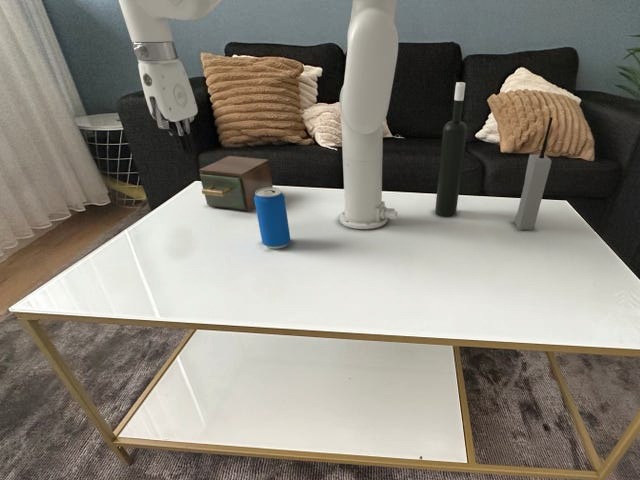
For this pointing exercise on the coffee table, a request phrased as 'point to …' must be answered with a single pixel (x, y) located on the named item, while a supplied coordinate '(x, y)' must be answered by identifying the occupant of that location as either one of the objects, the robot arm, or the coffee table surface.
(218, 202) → the drawer
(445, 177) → the wine bottle
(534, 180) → the vintage mobile phone
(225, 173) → the cabinet
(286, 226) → the beverage can
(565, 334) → the coffee table surface
